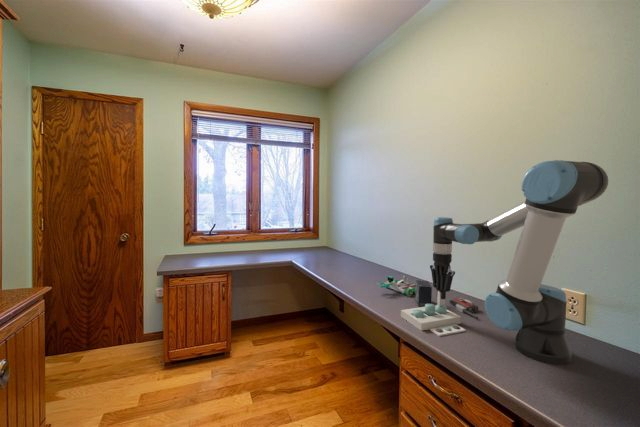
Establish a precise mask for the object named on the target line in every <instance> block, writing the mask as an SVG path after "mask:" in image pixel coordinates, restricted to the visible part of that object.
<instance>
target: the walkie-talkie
mask: <svg viewBox="0 0 640 427" xmlns="http://www.w3.org/2000/svg"><path fill="white" fill-rule="evenodd" d="M449 303H450V304H451V305H453V306H454V307H456V310H457V311H459V312H460V313H462V314H463V313H465V314H467V315H469V316H471V317H474V318H476V319H478V318H479V317H478V315H476V314H474V313H478V312H479V306H478V305H477V304H474V302H473V301H471V300H468V299H464V298H463V297H454V298H451V300H449Z"/></svg>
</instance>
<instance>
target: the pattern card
mask: <svg viewBox="0 0 640 427" xmlns="http://www.w3.org/2000/svg"><path fill="white" fill-rule="evenodd" d="M429 331H430V332H432V333H434V334H435V335H437V336H438V337H443V336H447V335H452V334H458V333H459V334H460V333H463V332H467V329H465V328H464V327H462V326H459V324H456V325H450V326H444V327H439V328H433V329H429Z"/></svg>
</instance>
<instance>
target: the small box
mask: <svg viewBox="0 0 640 427" xmlns="http://www.w3.org/2000/svg"><path fill="white" fill-rule="evenodd" d="M415 284H416V294H415V302H416V304H417V308H419V307H425V304H432V299H433V298H432V294H433V293H432V292H433V286H432V285H431V284H430V282H429V280H418V279H416V281H415Z"/></svg>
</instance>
